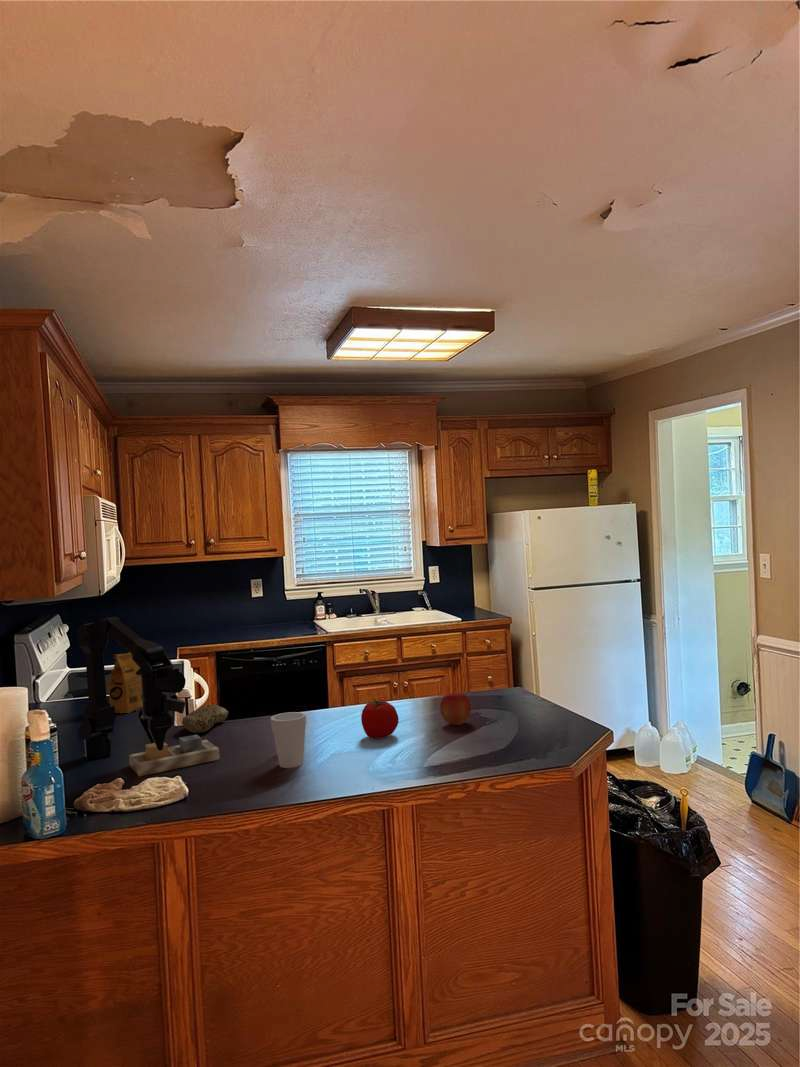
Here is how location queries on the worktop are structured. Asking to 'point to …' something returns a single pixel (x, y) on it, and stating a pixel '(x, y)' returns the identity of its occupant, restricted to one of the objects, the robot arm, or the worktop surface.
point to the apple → (455, 708)
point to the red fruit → (379, 719)
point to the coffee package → (125, 685)
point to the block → (155, 751)
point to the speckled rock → (204, 718)
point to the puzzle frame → (176, 756)
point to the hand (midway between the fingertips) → (156, 746)
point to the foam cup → (289, 738)
